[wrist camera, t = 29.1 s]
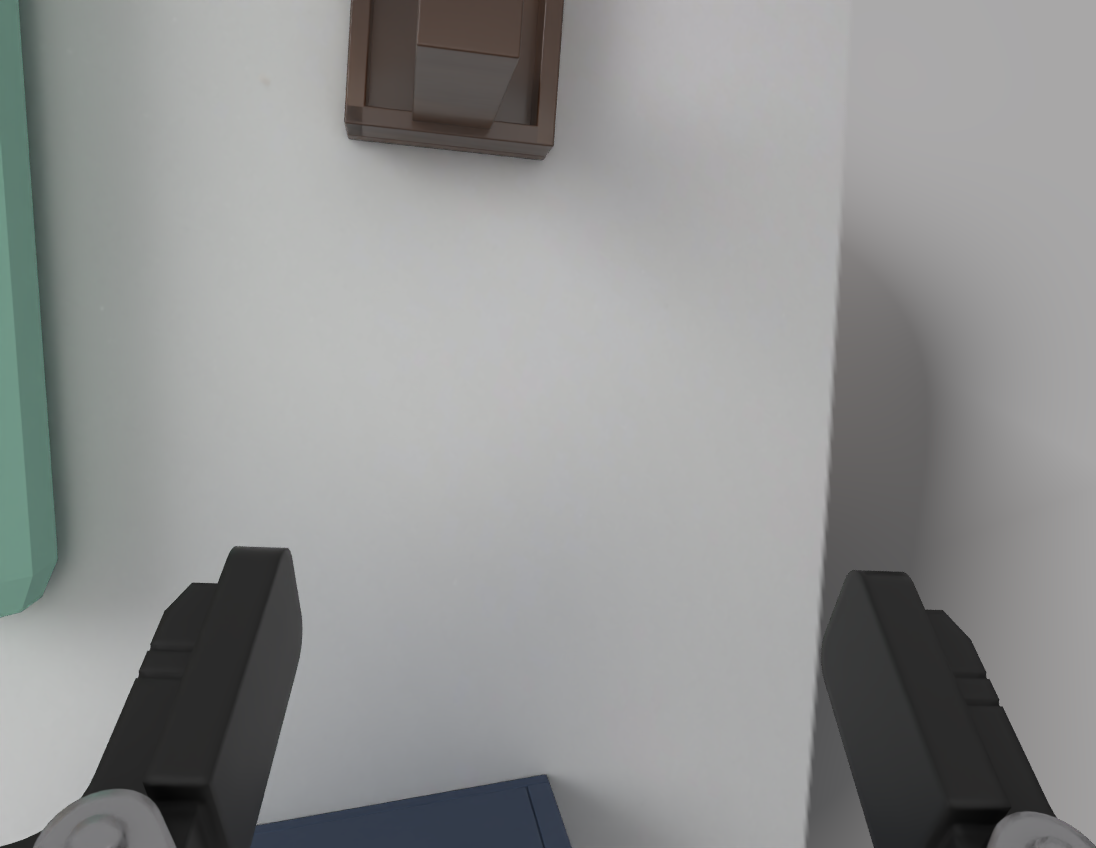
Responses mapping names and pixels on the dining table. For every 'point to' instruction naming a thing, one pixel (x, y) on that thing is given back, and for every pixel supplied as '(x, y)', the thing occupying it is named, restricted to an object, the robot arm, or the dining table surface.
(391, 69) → the scoop
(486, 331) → the dining table surface
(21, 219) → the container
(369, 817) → the tote
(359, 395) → the dining table surface
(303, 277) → the dining table surface
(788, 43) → the dining table surface
